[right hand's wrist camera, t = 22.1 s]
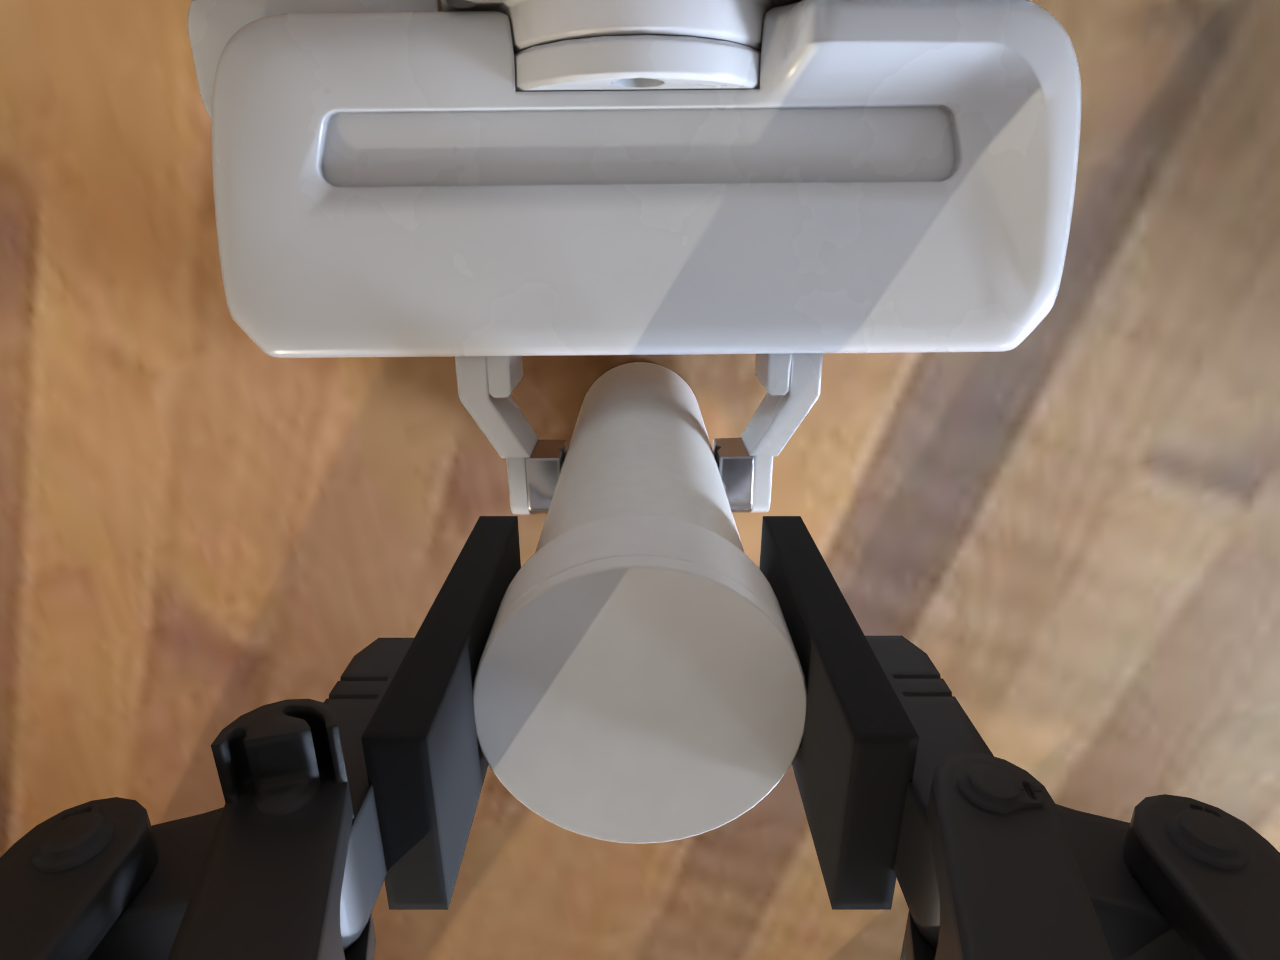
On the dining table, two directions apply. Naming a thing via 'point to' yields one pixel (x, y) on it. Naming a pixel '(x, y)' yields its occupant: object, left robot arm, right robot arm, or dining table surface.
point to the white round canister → (639, 682)
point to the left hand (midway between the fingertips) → (641, 506)
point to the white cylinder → (639, 457)
